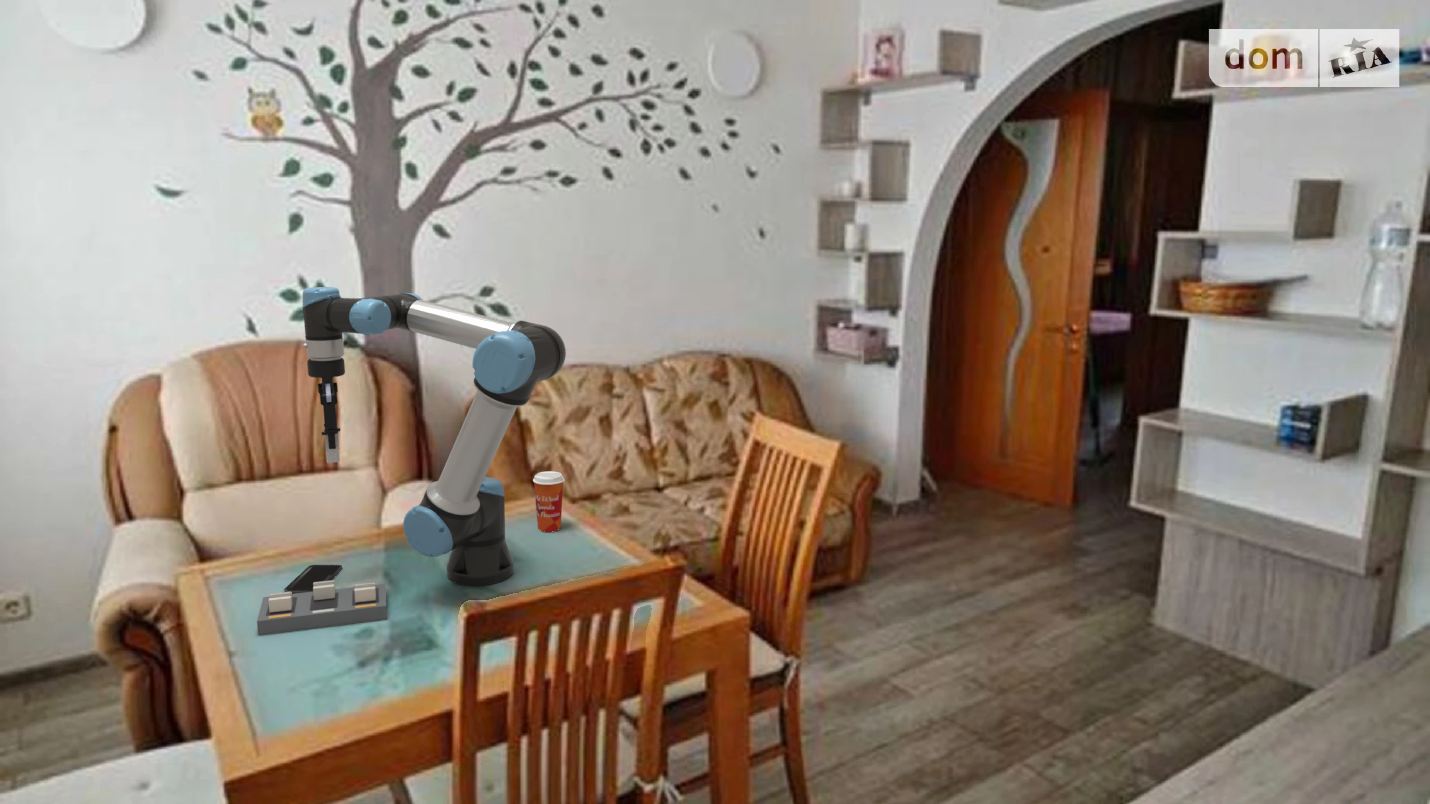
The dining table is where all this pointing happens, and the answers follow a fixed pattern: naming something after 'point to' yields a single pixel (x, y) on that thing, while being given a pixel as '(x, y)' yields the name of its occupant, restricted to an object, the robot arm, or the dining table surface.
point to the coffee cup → (548, 500)
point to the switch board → (322, 611)
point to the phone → (313, 577)
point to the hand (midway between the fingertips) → (333, 461)
